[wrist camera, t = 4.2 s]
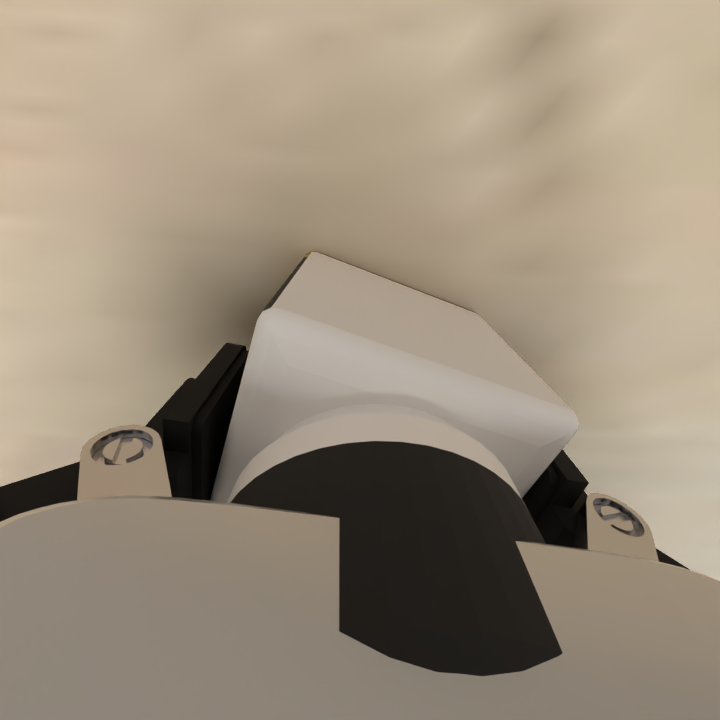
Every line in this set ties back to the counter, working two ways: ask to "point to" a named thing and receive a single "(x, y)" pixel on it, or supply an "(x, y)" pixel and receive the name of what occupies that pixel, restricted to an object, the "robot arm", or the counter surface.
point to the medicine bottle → (402, 462)
